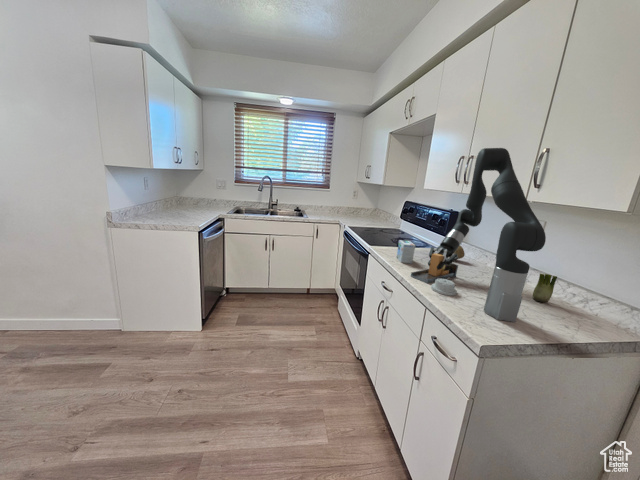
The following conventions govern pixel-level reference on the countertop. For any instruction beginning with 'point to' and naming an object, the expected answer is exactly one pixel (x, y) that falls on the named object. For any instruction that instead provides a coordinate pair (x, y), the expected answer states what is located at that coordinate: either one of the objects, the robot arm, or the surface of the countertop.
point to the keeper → (450, 268)
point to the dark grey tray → (429, 276)
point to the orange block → (434, 263)
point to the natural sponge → (459, 252)
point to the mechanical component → (444, 287)
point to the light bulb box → (405, 251)
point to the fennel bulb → (544, 288)
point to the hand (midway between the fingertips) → (433, 267)
